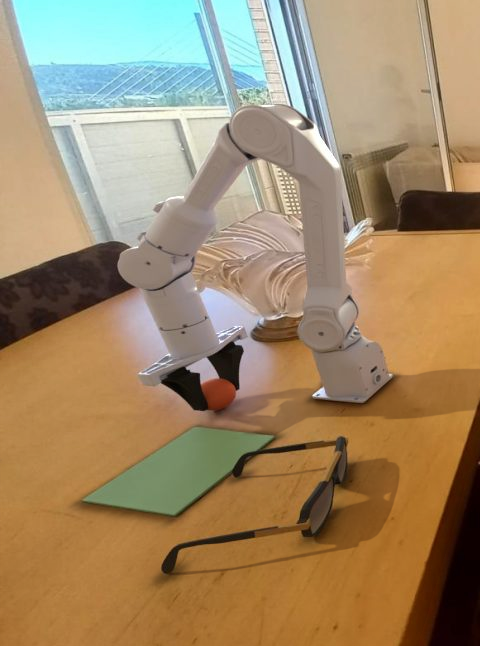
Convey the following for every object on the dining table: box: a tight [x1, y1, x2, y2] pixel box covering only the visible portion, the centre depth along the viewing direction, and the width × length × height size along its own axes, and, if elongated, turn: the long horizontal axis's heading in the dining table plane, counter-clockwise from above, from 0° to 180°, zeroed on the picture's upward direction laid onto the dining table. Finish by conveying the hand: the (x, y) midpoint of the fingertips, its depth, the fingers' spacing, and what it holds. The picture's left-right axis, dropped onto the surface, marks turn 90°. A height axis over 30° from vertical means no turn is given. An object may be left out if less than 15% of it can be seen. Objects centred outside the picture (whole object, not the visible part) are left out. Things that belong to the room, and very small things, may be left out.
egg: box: [201, 377, 237, 412], centre depth 74 cm, size 5×5×5 cm
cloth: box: [81, 426, 276, 517], centre depth 63 cm, size 14×14×1 cm
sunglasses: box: [160, 435, 349, 575], centre depth 55 cm, size 14×15×5 cm
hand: (217, 398), depth 75 cm, fingers closed on egg, 5 cm apart
